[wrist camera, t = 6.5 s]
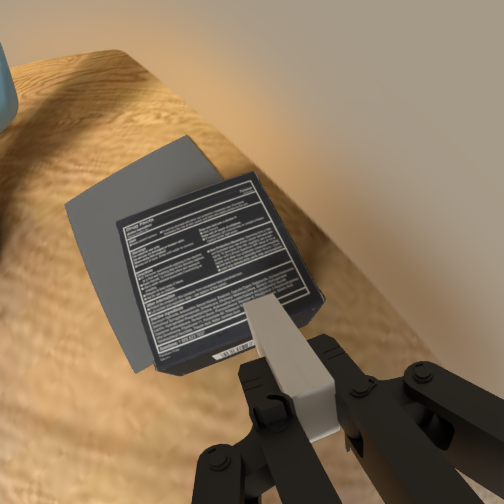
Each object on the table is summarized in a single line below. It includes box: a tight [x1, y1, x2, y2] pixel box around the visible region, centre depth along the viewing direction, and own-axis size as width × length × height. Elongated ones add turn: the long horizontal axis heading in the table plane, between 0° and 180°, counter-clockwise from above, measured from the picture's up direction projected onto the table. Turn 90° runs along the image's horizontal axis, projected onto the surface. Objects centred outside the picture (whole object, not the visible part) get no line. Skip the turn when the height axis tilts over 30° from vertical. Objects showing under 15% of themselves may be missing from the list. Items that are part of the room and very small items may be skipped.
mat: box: [64, 135, 224, 373], centre depth 27 cm, size 19×15×1 cm
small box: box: [116, 171, 326, 376], centre depth 22 cm, size 11×6×10 cm
